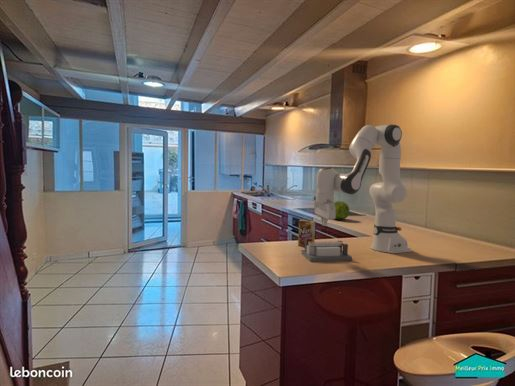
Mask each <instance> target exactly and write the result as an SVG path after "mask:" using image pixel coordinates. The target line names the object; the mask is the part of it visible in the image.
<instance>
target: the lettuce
mask: <svg viewBox="0 0 515 386" xmlns="http://www.w3.org/2000/svg"><path fill="white" fill-rule="evenodd" d="M333 203H334V205H335V213H336V217H335V219H337V220H336V221H341V220H342V221H343V220H345V219H347V218H348V216H349V214H350V207H349V204H348V203H346V202H345V201H340V200H337V201H334V202H333ZM335 219H334V220H335Z"/></svg>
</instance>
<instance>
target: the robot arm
mask: <svg viewBox="0 0 515 386" xmlns="http://www.w3.org/2000/svg"><path fill="white" fill-rule="evenodd" d="M402 136H403V130H402V129H401V127H400V126H399V125H397V124H381V125H377V126H373V125H372V124H366V125H364V126H363V127H362V128H361V129H359V130H358V132H357V134H356V135H355V136H354V138H353V139H352V141H351V142H350V144H349V147H348V149H349V152H350V155H351V156H352V157H353V158H354V159H355V160H356V162H355V164H354V166H353V169H352V171H351V172H348V173H341V172H338V171H336V170H335V169H334V167H332V166H327V167H326V166H324V167H321V168H319V169H318V171H317V174H316V188H317V189H316V192H315V193H316V194H315V195H314V196H313V201H314V202H313V211H314V214H316V215H317V216H319V217H320V220H321V225H322V226H323V227H326V226H328V221H329V220H335V217H336V213H335V205H334V203H333V202H335V201H334V199H335V192H336V193H337V192H338V193H342V194H343V193H344V194H347V195H355V194H357V193H358V191H359V190H360V189H361V186H362V181H363V178H364V176H365V174H366V171H367V169H368V167H369V164H370V161H371V158H372V153H371V151H372V149H373V148H374V147H375V146H376V147H377V146H378V147H379V146H380V148H381V150H380V154H379V163H378V164H379V165H378V173H379V175H380V176H381V178H382V181H379V182H375V183H373V184H371V186H370V187H369V190H368V192H369V196H370V197H371V198H372V201H373V206H374V211H375V215H374V219H375V220H374V225H373V238H372V243H371V245H370V249H371V250H372V251H373V250H374V251H377V252H381V253H382V252H384V253H388V254H400V253H401V254H402V253H412V251H413V250H412V248H410V247H409V246H408V245H409V244H408V241H407V239H406V238H405V237H404V236H402V235H401V234H400V233H399V232H401V231H402V229H403V228H402V227H400V226H396V223H397V222H396V220H397V213H396V210H395V209H394V208H393V205H392V204H393V203H394V204H395V203H402V202H404V201H405V199H406V198H407V196H408V192H407V188H405V186H404V184H403V182H402V179H401V160H402V148H401V142H400V141H401V139H402Z"/></svg>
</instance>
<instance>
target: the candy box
mask: <svg viewBox="0 0 515 386" xmlns="http://www.w3.org/2000/svg"><path fill="white" fill-rule="evenodd" d="M315 233H316V221H315V220H306V219H300V220H298V235H297V236H298V237H297V238H298V239H297V240H298V241H297V246H300V247H304V248H305V238H311V239H312V242H315V239H316V238H315Z"/></svg>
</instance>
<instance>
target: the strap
mask: <svg viewBox="0 0 515 386" xmlns="http://www.w3.org/2000/svg"><path fill="white" fill-rule="evenodd" d="M343 244H344V242H343V241H342V242H338V241H314V242H312V241H308V245H309V246H342V247H343Z"/></svg>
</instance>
